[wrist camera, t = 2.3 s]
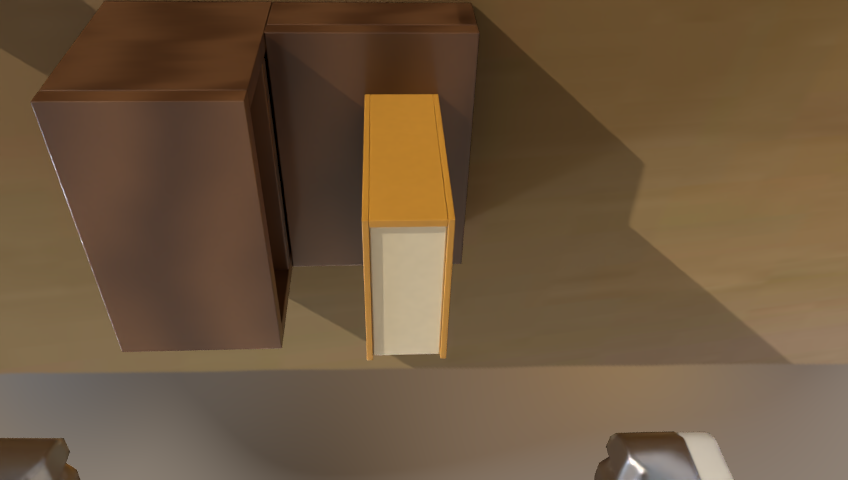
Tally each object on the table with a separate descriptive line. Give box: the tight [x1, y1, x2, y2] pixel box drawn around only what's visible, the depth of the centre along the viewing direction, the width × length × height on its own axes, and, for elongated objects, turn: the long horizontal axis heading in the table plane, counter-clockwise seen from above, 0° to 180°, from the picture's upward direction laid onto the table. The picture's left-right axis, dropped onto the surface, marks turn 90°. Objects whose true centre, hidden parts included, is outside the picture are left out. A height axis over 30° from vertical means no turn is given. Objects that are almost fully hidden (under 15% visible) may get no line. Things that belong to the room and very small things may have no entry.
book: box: [362, 94, 455, 360], centre depth 38 cm, size 4×9×11 cm, turn 179°
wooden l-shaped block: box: [31, 1, 479, 352], centre depth 41 cm, size 20×16×11 cm
